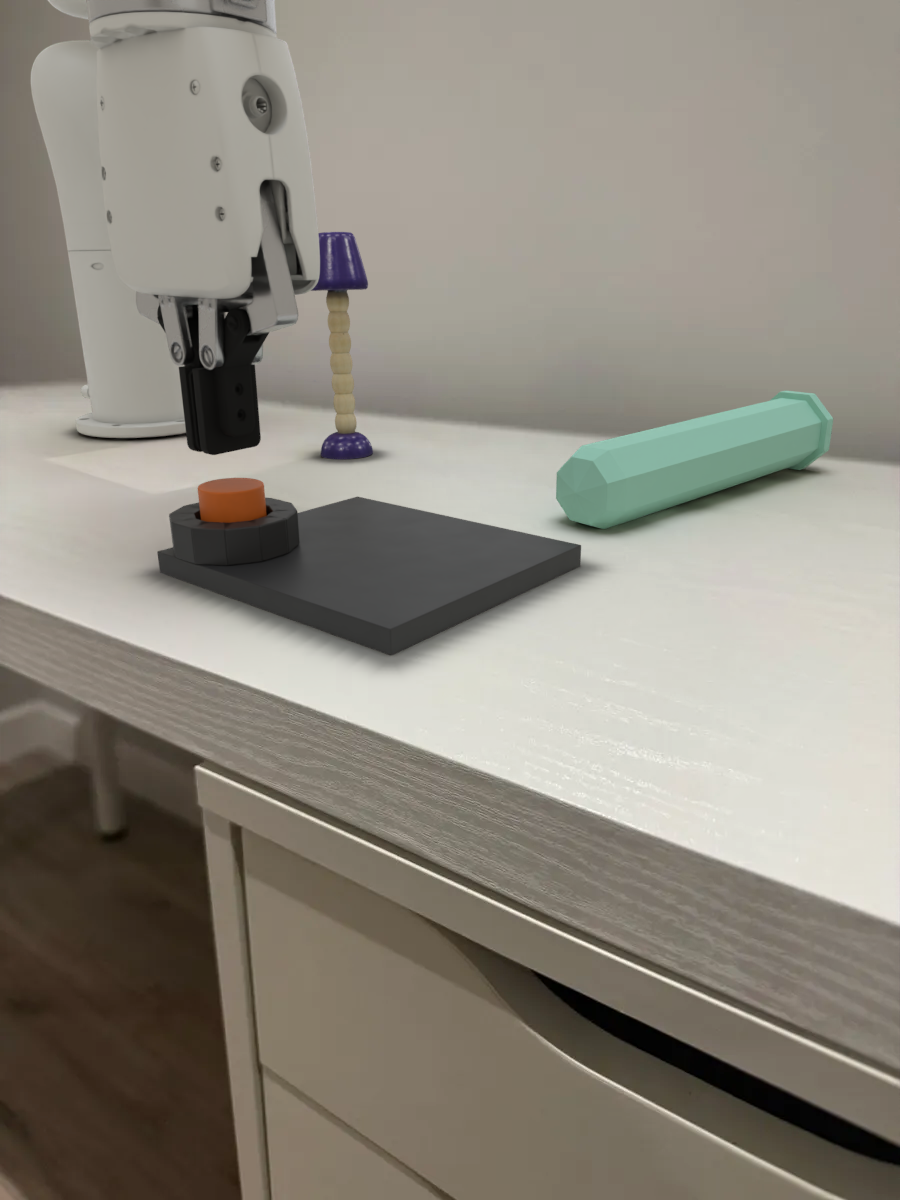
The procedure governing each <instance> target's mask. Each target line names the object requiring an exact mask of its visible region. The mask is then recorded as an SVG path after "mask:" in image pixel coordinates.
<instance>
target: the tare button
mask: <svg viewBox="0 0 900 1200" xmlns="http://www.w3.org/2000/svg"><path fill="white" fill-rule="evenodd" d="M196 490H197V498H198V502H199V506H200V515H201V520H202V521H206V522H224V523H231V522H241V521H250V520H254V519H258V518H262V517H265V516H267V514H266V502H265V497H266V494H265V493H266V491H265V490H266V489H265V483H264V482H263V480H260V479H256V478H250V477H225V478H218V479H212V480H207V481H205V482H203V483H201V484H198V486H197V489H196Z"/></svg>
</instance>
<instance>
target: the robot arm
mask: <svg viewBox="0 0 900 1200" xmlns="http://www.w3.org/2000/svg"><path fill="white" fill-rule="evenodd" d="M46 1H47V2H48V3H49V4H50V5H51V6H52V7H53V8H54V9H56V10H58V11H59V12H61V13H63V14H65V15H68V16H70V17H73V18H78V19H84V20H88V29H89V35H90V39H89V40H88V39H76V40H67V41H66V40H65V41H61V42H56V43H53V44H51V45H49V46H47V47H45V48H44V49H42V50H41V51H40V52H39V53H38V54H37V56H36V57H35V59H34V61H33V64H32V66H31V70H30V89H31V91H30V92H31V97H32V102H33V106H34V110H35V114H36V118H37V121H38V125H39V128H40V132H41V135H42V139H43V142H44V145H45V148H46V152H47V155H48V160H49V162H50V163H49V164H50V167H51V171H52V175H53V179H54V183H55V187H56V191H57V198H58V202H59V208H60V214H61V218H62V225H63V231H64V238H65V243H66V250H67V255H68V263H69V268H70V269H69V270H70V275H71V282H72V288H73V289H72V290H73V296H74V303H75V310H76V315H77V321H78V328H79V335H80V342H81V347H82V354H83V361H84V362H83V363H84V368H85V375H86V380H87V382H86V383H87V384H84V385H82V387H81V388H80V394H81V396H82V397H83V399H88V400H89V402H90V407H91V412H89V413H85V414H82V415H80V416H78V417H77V418H76V419H75V426H76V431H77V432H78V433H79V434H80V435H84V436H89V437H94V438H95V437H97V438H106V439H137V438H140V439H141V438H156V437H166V436H167V437H168V436H174V435H175V436H176V435H182V434H185V435H186V436H185V437H186V444H187V447H188V449H190V451H194V452H198V453H204V454H206V455H211V456H217V455H222V454H227V453H232V452H237V451H242V450H246V449H251V448H255V447H257V446H259V444H260V443H261V438H262V437H261V435H262V434H261V424H260V410H259V400H258V388H257V376H256V375H257V374H256V365H259V364H260V363H261V362H262V360H263V359H264V358H263V357H264V344H265V341H266V339H267V338H268V336H269V334H270V333H272V332H276V331H278V330H282V329H286V328H289V327H292V326H295V325H296V324H297V322H298V321H299V308H298V304H297V300H296V299H297V298H296V296H299V295H304V294H307V293H309V292H312V291H311V290H312V289H313V288H314V287H315V286H316V284H317V283H318V280H319V275H320V249H319V234H318V233H319V222H318V212H317V202H316V192H315V183H314V174H313V166H312V157H311V150H310V144H309V137H308V130H307V125H306V118H305V113H304V106H303V102H302V101H303V100H302V97H301V92H300V88H299V83H298V78H297V74H296V69H295V65H294V63H293V59H292V54H291V52H290V47H289V44H288V42H287V41H286V40H284V39H282V38H279V37H278V36H277V35H278V33H277V18H276V0H46Z"/></svg>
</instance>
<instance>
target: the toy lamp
mask: <svg viewBox="0 0 900 1200" xmlns="http://www.w3.org/2000/svg"><path fill="white" fill-rule="evenodd" d="M318 234H319V249H320V275H319V280H318V283H317V284H316V286H315V287H314V288H313V289H312V290H311V291H310V292H314V291H315V292H317V291H318V292H319V291H320V292H321V291H327V293H326V297H325V303H326V307H327V309H328V311H329V312H328V315H327V327H328V331H329V332H330V334H329V337H328V346H329V350H330V352H331V355H330V356H329V357H330V358H329V365H330V366H329V367H330V370H331V372H332V376H331V387H332V391H333V392H334V396H333V401H332V402H333V408H334V410H335V413H336V414H335V418H334V425H335V426H334V427H335V429H336V431H335V432H333V433H331V434H329V435H327V437H326V438H325V439H324V440H323V442H322V444H321V448H320V456H321V457H322V458H324V459H329V460H355V459H362V458H366V457H369V456H372V455H373V453H374V449H373V446H372V444H371V442H370V440H369V439H368V437H366V435H364V434H363V433H361V432H359V431H356V428H357V425H358V424H357V418H356V417H357V416H356V415H355V409H356V399H355V396H354V393H353V392H354V388H355V380H354V376H353V374H352V371H353V358H352V355H351V353H350V351H351V348H352V338H351V335H350V333H349V330H350V328H351V318H350V315H349V313H348V310H349V306H350V297H349V294H348V291H350V290H351V291H354V290H355V291H359V290H361V291H363V290H367V289H368V287H369V280H368V277H367V273H366V269H365V266H364V263H363V260H362V259H363V258H362V256H361V252H360V250H359V246H358V243H357V238H356V237H355V235H354V234H353V233H352V232H351V231H324V232H318Z"/></svg>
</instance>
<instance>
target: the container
mask: <svg viewBox="0 0 900 1200" xmlns="http://www.w3.org/2000/svg"><path fill="white" fill-rule="evenodd" d="M833 424H834V418H833V416H832V415H831V413H830V412H829V411H828V409H827V408H826V406H825V405H824V403H823V402H822V401H821V400H820V398H819V397H818V396H817V394H816V393H812V392H803V391H795V390H794V391H793V390H781V391H779V392H778V393H776V395H774V396H773V397H772V398H771V399H770V400H767V401H763V402H758V403H754V404H749V405H747V406H742V407H737V408H733V409H729V410H725V411H721V412H717V413H712V414H707V415H704V416H699V417H696V418H692V419H687V420H683V421H678V422H675V423H669V424H667V425H663V426H657V427H654V428H650V429H645V430H641V431H637V432H633V433H628V434H625V435H621V436H615V437H612V438H609V439H608V438H607V439H604V440H600V441H595V442H590V443H587V444H582V445H581V446H580V447H579V448H578V449H576V451H575V452H574V453H573V454H572V455H571V456H570V457H569V458H568V459H567V461H565V463H564V464H563V465H562V466H561V467H560V468H559V469H558V470H557V471H556V479H555V480H556V483H555V485H556V486H555V487H556V488H555V499H556V501H557V502H558V504H559V506H560V507H561V508H562V510H563V512H564V513H565V515H566V517H567V519H568V520H569V521H572V522H575V523H579V524H581V525H586V526H590V527H594V528H597V529H602V530H606V529H609V528H613V527H615V526H618V525H621V524H625V523H628V522H631V521H634V520H637V519H640V518H642V517H646V516H649V515H651V514H655V513H658V512H661V511H664V510H667V509H670V508H672V507H676V506H678V505H681V504H684V503H687V502H690V501H693V500H696V499H699V498H702V497H705V496H708V495H711V494H714V493H717V492H720V491H722V490H725V489H729V488H731V487H734V486H737V485H740V484H744V483H747V482H749V481H752V480H756V479H758V478H761V477H765V476H768V475H770V474H773V473H777V472H780V471H782V470H785V469H790V470H795V471H802V470H804V469H806V468H808V467H809V466H810V465H812V464H813V463H814V462H815V461H817V460H818V459H819V458H821V457H822V456H823V455H825V454H826V453H827V452H829V450H830V448H831V447H830V446H831V438H832V433H833V432H832V431H833Z"/></svg>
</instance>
